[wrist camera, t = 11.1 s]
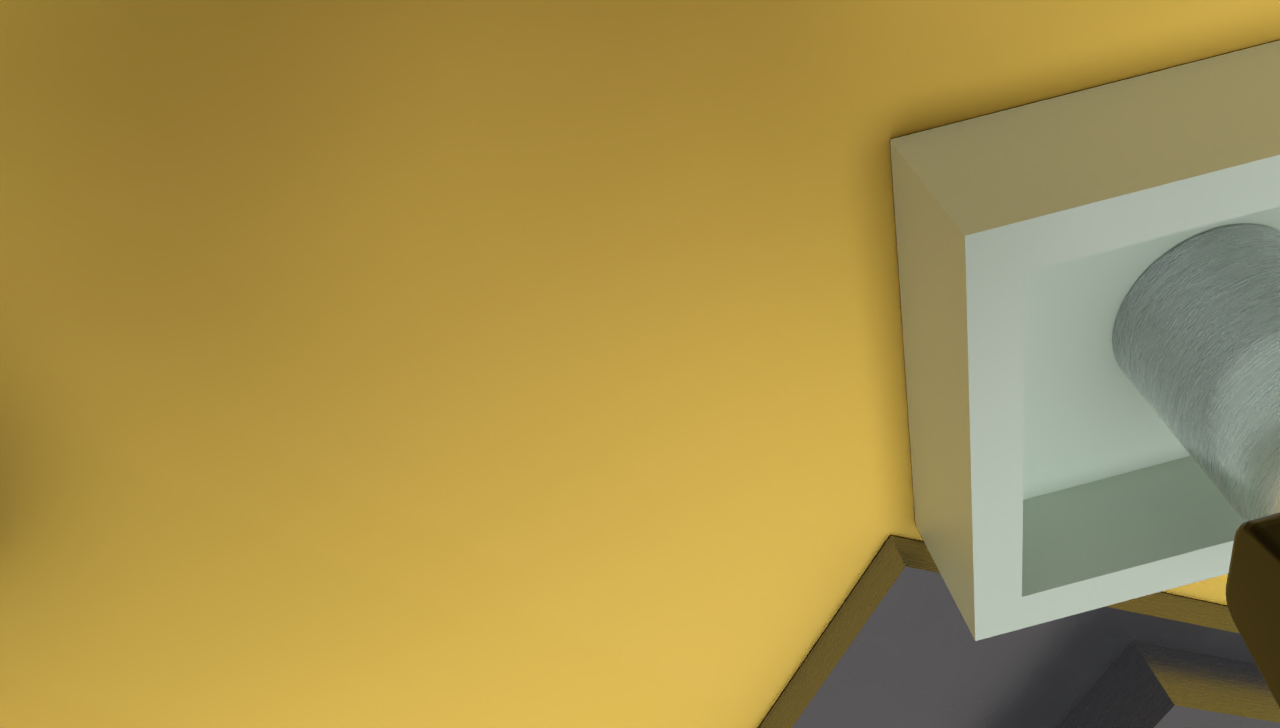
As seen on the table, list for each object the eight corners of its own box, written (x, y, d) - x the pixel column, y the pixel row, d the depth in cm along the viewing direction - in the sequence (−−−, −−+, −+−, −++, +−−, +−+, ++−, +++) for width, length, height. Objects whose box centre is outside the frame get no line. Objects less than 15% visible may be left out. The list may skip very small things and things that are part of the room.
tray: (915, 524, 28) (975, 641, 25) (890, 139, 22) (964, 235, 19) (1411, 394, 28) (1524, 494, 25) (1520, -22, 22) (1685, 50, 19)
